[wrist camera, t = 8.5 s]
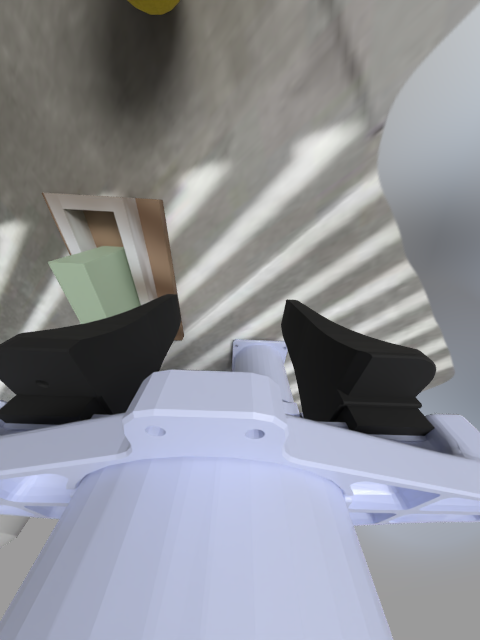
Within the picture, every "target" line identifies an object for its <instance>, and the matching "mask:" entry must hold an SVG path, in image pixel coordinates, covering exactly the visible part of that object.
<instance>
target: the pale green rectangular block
mask: <svg viewBox="0 0 480 640" xmlns="http://www.w3.org/2000/svg"><path fill="white" fill-rule="evenodd" d="M48 263H49V265H50V267H51V269H52V271H53V273H54V275H55V276H56V278H57V280H58V282H59V284H60V286H61V288H62V289H63V291H64V293H65V295H66V297H67V299H68V301H69V302H70V304H71V306H72V308H73V310H74V312H75V314H76V315H77V317H78V319H79V321H80V323H81V324H84V323H89V322H93V321H96V320H100V319H104V318H108V317H111V316H114V315H117V314H121V313H123V312H126V311H129V310H131V309H133V308H136V307H138V306H141V304H140V300H139V297H138V294H137V290H136V287H135V283H134V280H133V277H132V273H131V270H130V266H129V263H128V259H127V256H126V253H125V249H124V247H115V246H101V247H98V248H94V249H91V250H87V251H84V252H81V253H77V254H74V255H70V256H67V257H63V258H60V259H57V260H53V261H50V262H48Z"/></svg>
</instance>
